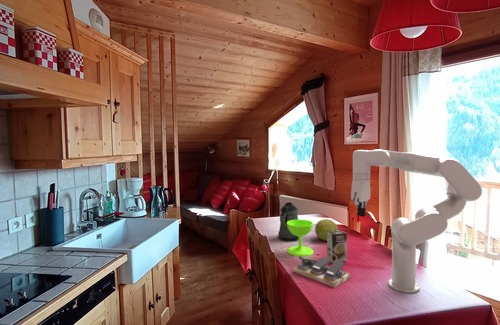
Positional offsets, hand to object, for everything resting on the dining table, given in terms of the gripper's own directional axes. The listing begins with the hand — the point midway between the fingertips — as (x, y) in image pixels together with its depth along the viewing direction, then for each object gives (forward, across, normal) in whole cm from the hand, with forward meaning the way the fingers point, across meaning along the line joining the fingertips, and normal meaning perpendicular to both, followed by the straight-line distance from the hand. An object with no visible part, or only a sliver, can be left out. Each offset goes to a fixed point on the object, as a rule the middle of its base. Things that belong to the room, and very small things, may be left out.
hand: (361, 215), depth 137 cm
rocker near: (+27, +6, -10) cm, 29 cm away
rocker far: (+27, +6, -26) cm, 38 cm away
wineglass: (+32, -12, -46) cm, 57 cm away
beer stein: (+32, -27, -67) cm, 79 cm away
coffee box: (+32, -16, -23) cm, 43 cm away
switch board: (+32, +6, -18) cm, 38 cm away
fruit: (+32, -43, -48) cm, 72 cm away
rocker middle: (+27, +6, -18) cm, 33 cm away
